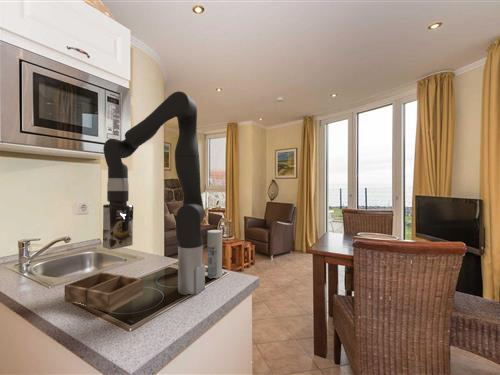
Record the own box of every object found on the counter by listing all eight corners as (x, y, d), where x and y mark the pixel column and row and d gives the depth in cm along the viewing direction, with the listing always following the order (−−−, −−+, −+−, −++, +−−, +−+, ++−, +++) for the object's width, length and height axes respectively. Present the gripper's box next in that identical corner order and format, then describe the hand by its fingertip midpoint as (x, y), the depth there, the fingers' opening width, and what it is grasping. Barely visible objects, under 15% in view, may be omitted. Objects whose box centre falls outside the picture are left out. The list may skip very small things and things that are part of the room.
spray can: (204, 276, 107) (204, 231, 107) (215, 272, 112) (215, 229, 112) (214, 280, 103) (214, 233, 103) (225, 275, 108) (225, 231, 108)
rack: (143, 293, 90) (143, 279, 90) (109, 312, 77) (109, 295, 77) (101, 285, 97) (101, 271, 97) (64, 301, 84) (64, 285, 84)
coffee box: (110, 250, 92) (110, 207, 92) (102, 247, 96) (102, 206, 96) (133, 245, 100) (133, 206, 100) (124, 243, 103) (124, 205, 103)
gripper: (139, 189, 98) (139, 230, 99) (113, 189, 104) (113, 228, 104) (123, 190, 91) (123, 233, 92) (96, 189, 97) (96, 231, 97)
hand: (118, 230), depth 98 cm, fingers closed on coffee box, 7 cm apart
